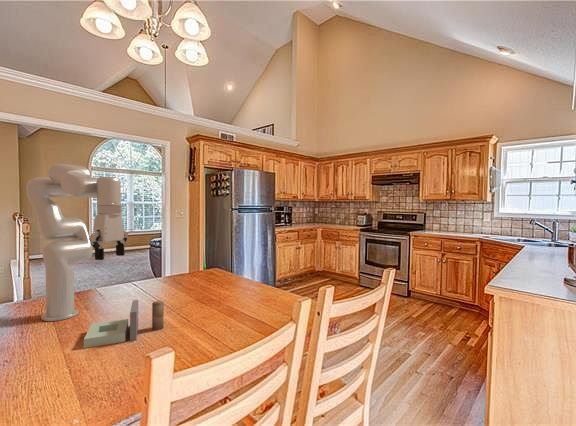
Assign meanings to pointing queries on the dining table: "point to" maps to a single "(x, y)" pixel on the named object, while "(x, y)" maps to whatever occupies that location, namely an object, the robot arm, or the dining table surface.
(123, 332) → the socket block
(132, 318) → the low wall
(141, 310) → the dining table surface
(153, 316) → the walnut peg
